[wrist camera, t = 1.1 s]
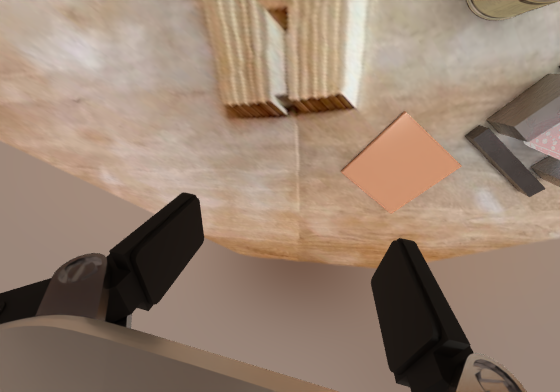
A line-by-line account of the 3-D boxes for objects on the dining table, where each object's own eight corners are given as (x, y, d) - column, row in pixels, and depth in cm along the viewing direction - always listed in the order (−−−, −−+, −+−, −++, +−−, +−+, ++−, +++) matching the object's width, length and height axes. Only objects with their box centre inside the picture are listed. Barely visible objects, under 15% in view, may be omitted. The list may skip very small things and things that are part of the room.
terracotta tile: (404, 111, 30) (406, 112, 30) (459, 164, 32) (461, 166, 32) (341, 170, 37) (341, 172, 36) (389, 211, 39) (391, 213, 38)
